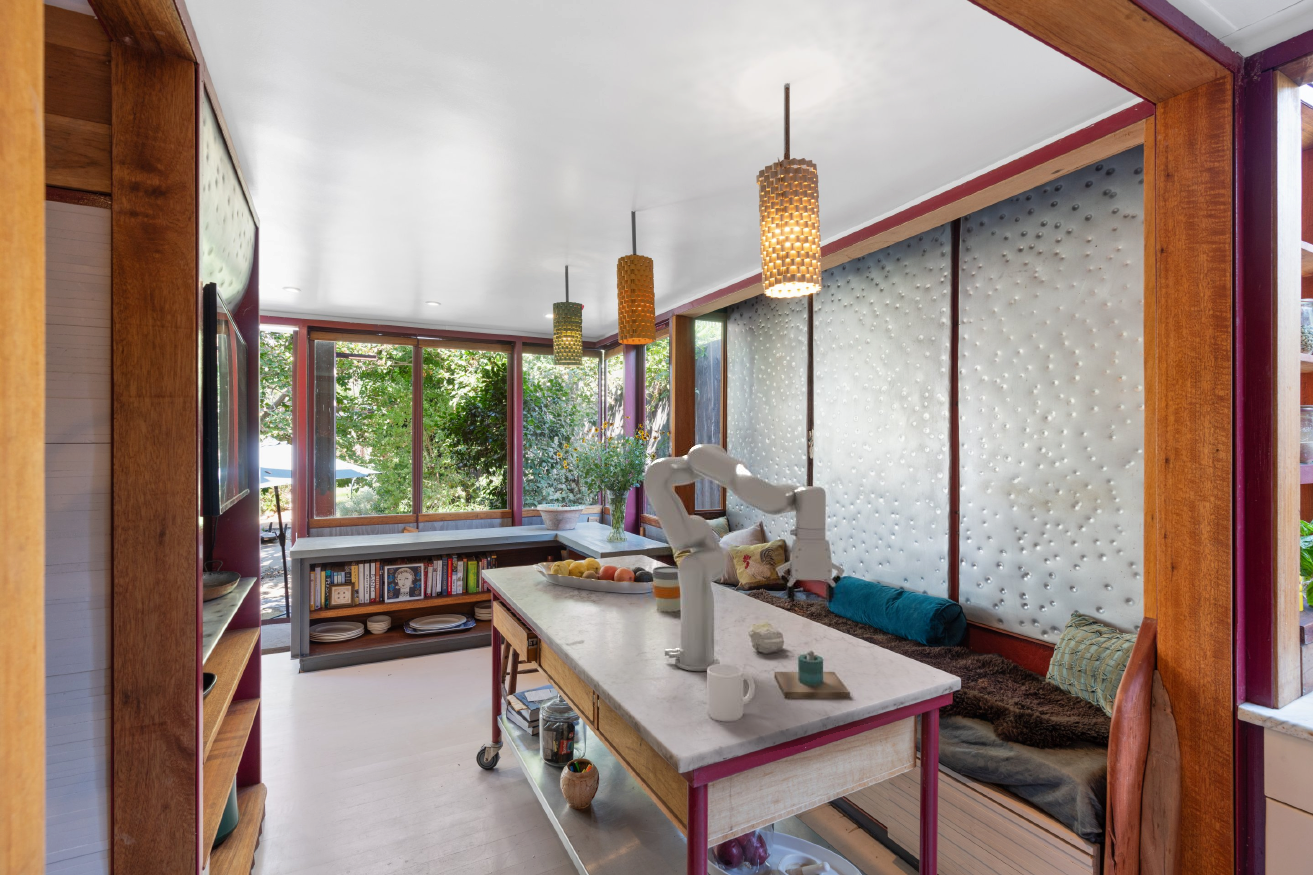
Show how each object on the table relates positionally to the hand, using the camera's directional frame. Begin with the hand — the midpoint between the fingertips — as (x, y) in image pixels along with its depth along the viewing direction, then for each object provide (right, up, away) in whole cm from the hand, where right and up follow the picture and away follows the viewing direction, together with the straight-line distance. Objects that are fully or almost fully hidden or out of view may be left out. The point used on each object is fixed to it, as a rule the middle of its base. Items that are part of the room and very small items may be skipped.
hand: (810, 601), depth 163 cm
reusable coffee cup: (-35, -23, +78) cm, 88 cm away
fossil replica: (-6, -23, +29) cm, 37 cm away
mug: (-22, -22, -16) cm, 35 cm away
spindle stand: (0, -22, 0) cm, 22 cm away
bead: (0, -21, 0) cm, 21 cm away
